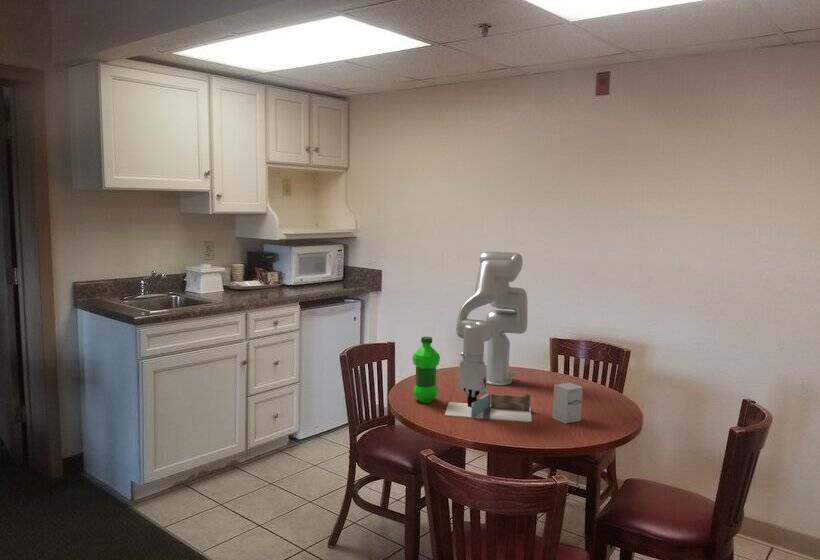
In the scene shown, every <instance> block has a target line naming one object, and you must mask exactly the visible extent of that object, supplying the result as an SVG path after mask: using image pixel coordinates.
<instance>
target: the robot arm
mask: <svg viewBox="0 0 820 560" xmlns="http://www.w3.org/2000/svg"><path fill="white" fill-rule="evenodd" d="M479 263H480V264H479V268H478V273H477V278H476V283H475V289H474V293H473V295H471V296H470V297H469V298H468V299H467V300H466V301H464V303H463V304H462V305H461V307H460V310H459V311H458V316H457V319H456V320H457V321H456V326H455V327H456V328H455V329H456V330H455V332H456V335H457V337H458V338H460V339H463V343H462V344H463V346H462V350H463V351H462V352H460V357H462V359H461V360H460V362H459V367H458V374H457V386H458V387H459V389H461V390H463V391H464V393H465V395H466V397H467V401H466V403H468V407H471V405H472V402H474V401H476V400H478V399H477V397H478V396H479V395H481V394H482V395H483V394H484V395H485V394H486V388H487V384H488V385H492V386H507V385H508V386H509V385H510V384H512V382H513V380H512V378H511V377H517V376H518V371H515V370H514V371H510V348H511V347H510V346H511V345H510V344H511V342H510V339H509V338H508V336H507V335H506V334H517V335H518V334H520V335H521V334H524V333H525V332H527V329H528V295H527V292H526V290H525V289H524V288H523V287H514V286H513V287H512V286H510V283H513V282H514V281H515V280H516V279H517V277H518V276H519V274H520V272H521V271H522V269H523V263H524V262H523V257H522V255H521V254H520V253H518V252H511V251H507V252H506V251H493V250H492V251H483V252H481V254H480V256H479ZM488 304H489V305H490V306H491V307H492V308H493V309H494V310H491V311H489V312H488V313H487V315H486V320H483V319H482V320H481V319H471V318H468V316H469V315H470V313H471V312H472V311H475V309H478V308H479V307H482V306H486V305H488ZM485 342H487V353H486V363H485V361H484V358H485Z"/></svg>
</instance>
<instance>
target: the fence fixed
mask: <svg viewBox="0 0 820 560" xmlns="http://www.w3.org/2000/svg"><path fill="white" fill-rule="evenodd" d="M530 404H531V394H530V393H525V394H524V395H516V394H499V393H490V405H491V408H500V409H514V410H525V411H529V408H531V407H530V406H531V405H530Z"/></svg>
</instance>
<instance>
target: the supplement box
mask: <svg viewBox="0 0 820 560" xmlns="http://www.w3.org/2000/svg"><path fill="white" fill-rule="evenodd" d="M583 390H584V388H583V386H581V385H577V384H575V383H571V382H564V383H563V382H562V383H556V384H553V400H552V415H551V416H552V417H551V418H552V419H555V420H557V421H558V422H561V423H563V424H570V423H576V422H581V420H582V409H583V408H582V406H583V404H582V403H583V393H584V392H583Z"/></svg>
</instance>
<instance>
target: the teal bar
mask: <svg viewBox="0 0 820 560" xmlns="http://www.w3.org/2000/svg"><path fill="white" fill-rule="evenodd" d="M490 405H491V393H490V392H489V393H484V395H482V396H481V397H479V398H478V399H477V400H476V401H474V402H472V405H471V416H472V417H476V415H478V414H479V413H481V412H482V411H484V410H485V409H486V408H488V407H490Z"/></svg>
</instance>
